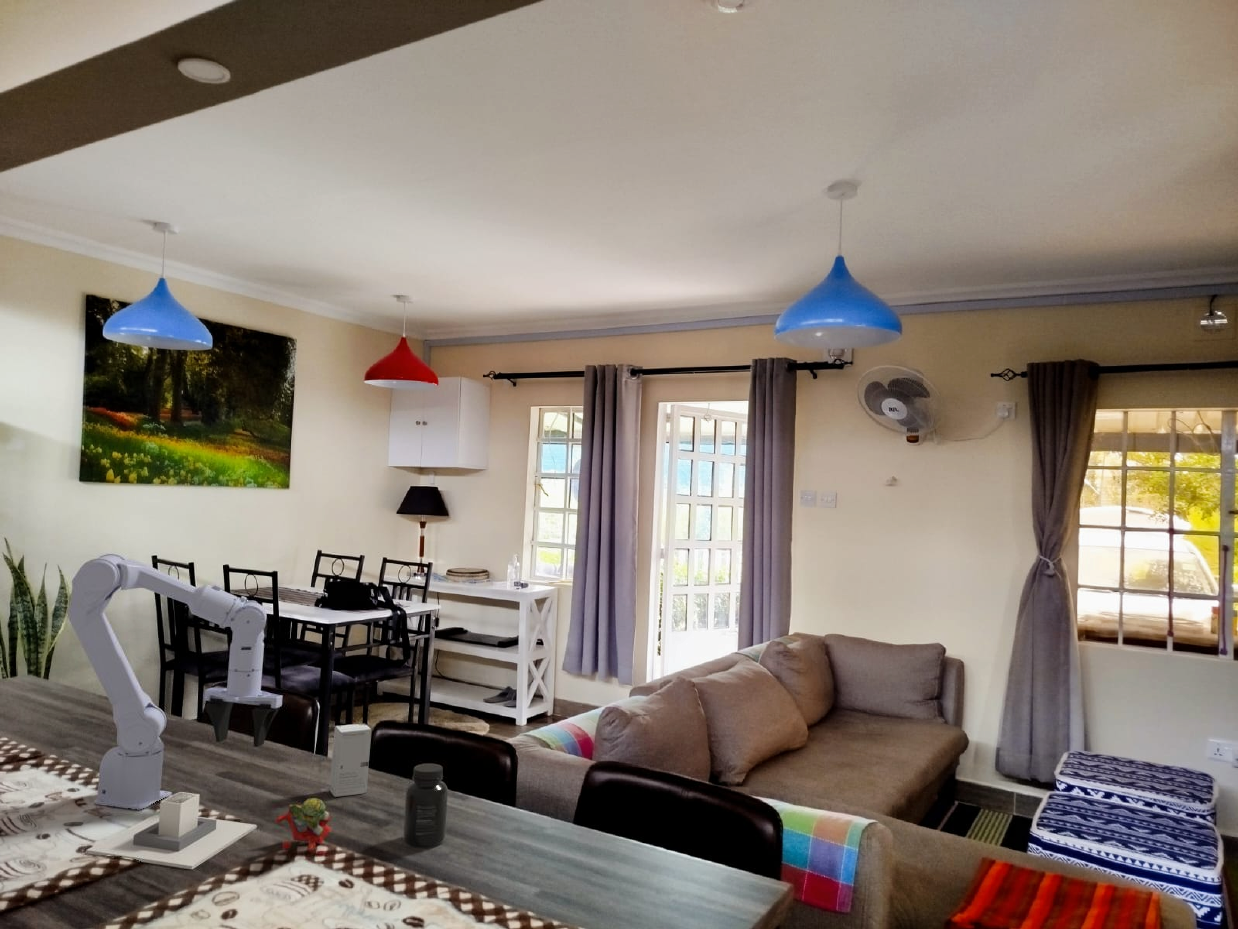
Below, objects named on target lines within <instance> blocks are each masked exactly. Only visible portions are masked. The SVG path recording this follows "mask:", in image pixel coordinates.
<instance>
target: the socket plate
mask: <svg viewBox="0 0 1238 929" xmlns="http://www.w3.org/2000/svg"><path fill="white" fill-rule="evenodd" d="M159 818H160V811H159V812H157V813H156V814H153V815H151V816H149V817H148V818H146V819H144V820H142V821H140V822H138V823H136V824H134V825H132V826H130V827H128V828H126V829H125V830H123V831H121V832H118V833H116V834H115V835H113V836H111V837H109V838H106V839H104V840H103V841H100V842H99V843H97V844H95V845H94V846H93V845H92V847H91V846H90V847H89V848H87V849H86V852H85V853H86V854H89V855H96V856H101V855H111V856H113V855H115V856H122V857H129V858H132V859H136V860H139V861H138V862H140V861H141V863H146V864H147V863H148V864H153V865H162V866H166V867H174V868H180V869H187V870H193V869H195V868H197V867H198V866H200V865H201V864H203V863H204V862H206V861H208V860H209V859H211V858H212V857H214V856H216V855H217V854H218V853H219V852H221V851H224V850H225V849H226V848H228V847H229V846H231V845H232V844H234V843H235V842H238V841H239V840H240V839H242V838H243V837H245V836H246V835H247V834H249V833H251V832H253V831H255V830H256V829H257V826H258V825H257V824H253V823H245V822H239V821H231V820H226V819H225V820H223V819H216V818H209V817H204V816H203V817H202V816H198V823H197V827H196V828H194V829H192V830H190V831H189V832H187V833H185V834H184V835H182V836H180V837H178V838H177V837H171V836H164V835H158V831H159Z"/></svg>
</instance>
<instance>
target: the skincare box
mask: <svg viewBox="0 0 1238 929" xmlns="http://www.w3.org/2000/svg"><path fill="white" fill-rule="evenodd" d="M371 739H372V729H371V727H369V726H368V725H367V724H366V723H359V724H358V723H356V724H345V725H335V727H334V734H333V743H332V744H333V745H332V753H331V766H330V768H331V769H330V777H329V778H330V780H329V791H330V793H331V794H332V796H333V797H335V798H336V797H344V796H353V795H360V794H361V795H362V794H365V793H367V786H368V776H369V765H370V764H369V761H370V752H371V751H370V749H371V741H372V740H371Z"/></svg>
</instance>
